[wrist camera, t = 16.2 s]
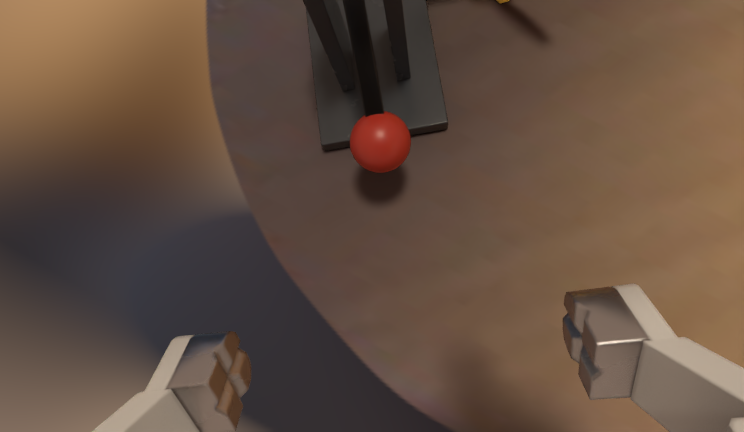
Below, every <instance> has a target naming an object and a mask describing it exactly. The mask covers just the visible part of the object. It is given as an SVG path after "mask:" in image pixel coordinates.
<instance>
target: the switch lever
mask: <svg viewBox="0 0 744 432" xmlns="http://www.w3.org/2000/svg"><path fill="white" fill-rule="evenodd" d="M343 5H344V10H345V15H346V20H347V25H348V30H349V36H350V41H351V46H352V51H353V56H354V61H355V66H356V72H357V77H358V82H359V87H360V92H361V97H362V102H363V108H364V113H365V115H364V116H363V117H362V118H360V119H359V120H358V121H357V123H356V124H355V125H354V127H353V129H352V132H351V136H350V148H351V152H352V154H353V156H354V158H355V160H356V161H357V162H358V163H359V164H360V165H361V166H362V167H363V168H365V169H367V170H369V171H372V172H377V173H384V172H389V171H392V170H394V169H396V168H397V167H399V166H400V165H401V164H402V163H403V162H404V161H405V159H406V158H407V156H408V154H409V151H410V146H411V137H410V133H409V130H408V128H407V126H406V124H405V123H404V122H403V121H402V119H400V118H399V117H398V116H396V115H395V114H393V113H390V112H387V111H384V105H383V99H382V94H381V88H380V83H379V77H378V71H377V66H376V60H375V54H374V49H373V43H372V37H371V32H370V26H369V21H368V15H367V9H366V4H365V0H343Z"/></svg>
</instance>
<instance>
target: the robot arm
mask: <svg viewBox="0 0 744 432" xmlns="http://www.w3.org/2000/svg"><path fill="white" fill-rule="evenodd" d="M564 306H565V308H566V310H567V312H568V313H567V314H566V315H565V316H564V318H563V334H564V340H565V343H566V347H567V349H568V352H569V354H570V356H571V358H572V359H573V360H575V361H576V362H578V363H579V373H578V374H579V377H580V379H581V381H582V383H583V385H584V388H585V390H586V392H587V394H588V396H589V399H590V400H594V399H611V398H627V397H631V400H632V401H633V402H634V403H636V404H637V405H638V406H639V407H640V408H642V409H643V410H644V411H645V412H646V413H648V414H649V415H650V416H651V417H653V418H654V419H655V420H656V421H657V422H659V423H660V424H661V425H662V426H663V427H665V428H666V429H667V430H668V431H669V432H744V368H743V367H741V366H739V365H737V364H735V363H733V362H731V361H730V360H728V359H726V358H724V357H722V356H720V355H718V354H716V353H715V352H713V351H711V350H709V349H707V348H705V347H703V346H701V345H700V344H698V343H696V342H694V341H692V340H690V339H688V338H687V337H677V336H676V334H675V333H674V332H673V330H672V329H671V328H670V326H669V325H668V324H667V322H666V321H665V320H664V318H663V317H662V316H661V314H660V313H659V311H658V310H657V309H656V307H655V306H654V305H653V303H652V302H651V301H650V299H649V298H648V297H647V295H646V294H645V293H644V291H643V290H642V289H641V287H640V286H638V285H637V284H627V285H619V286H612V287H603V288H595V289H587V290H579V291H571V292H566V295H565V298H564ZM239 343H240V339H239V338H238V336H237V334H236V332H232V331H229V332H217V333H206V334H195V335H188V336H177V337H176V338H174V339H173V340H172V341H171V343H170V344H169V347H168V348H167V350H166V352H165V354H164V356H163V358H162V360H161V361H160V363H159V365H158V367H157V369H156V371H155V373H154V375H153V376H152V378H151V380H150V382H149V384H148V386H147V388H146V390H145V391H144V392H138V393H137V394H136V395H135V396H134V397H133V398H131V399H130V400H129V401H128V402H127V403H125V404H124V405H123V406H122V407H121V408H119V409H118V410H117V411H116V412H115V413H113V414H112V415H111V416H110V417H109V418H107V419H106V420H105V421H104V422H103V423H102V424H100V425H99V426H98V427H97V428H96V429H94V430H93V431H92V432H230V431H236V428H237V424H238V421H239V418H240V414H241V411H242V408H243V405H242V402H241V400H240V397H241V396H242V395H243V394H244V393H245V392H246V391H247V390H248V388H249V384H250V381H251V364H250V360H249V357H248V355H247V353H246V352H244V351H243V350H241V349H240V348H238V346H239Z"/></svg>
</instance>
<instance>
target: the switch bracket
mask: <svg viewBox="0 0 744 432" xmlns="http://www.w3.org/2000/svg"><path fill="white" fill-rule="evenodd" d="M303 2H304V4H305V6H306V13H307V22H308V31H309V40H310V49H311V58H312V67H313V76H314V85H315V94H316V103H317V112H318V121H319V130H320V139H321V145H322V147H323V148H324V150H325V151H328V150H333V149H339V148H344V147H350V136H351V132H352V129H353V127H354V125H355V124H356V123H357V121H358V120H359V119H360V118H362V117H363V116H364V115H365V113H364V108H363V102H362V97H361V92H360V87H359V82H358V77H357V72H356V66H355V61H354V56H353V51H352V46H351V41H350V36H349V30H348V25H347V20H346V15H345V10H344V5H343V0H303ZM365 4H366V9H367V15H368V21H369V26H370V32H371V37H372V43H373V49H374V54H375V60H376V66H377V71H378V77H379V83H380V88H381V94H382V99H383V105H384V111H387V112H390V113H393V114H395V115H396V116H398V117H399V118H400V119H402V121H403V122H404V123H405V124H406V126H407V128H408V130H409V133H410V136H411V135H416V134H422V133H428V132H433V131H439V130H444V129H448V119H447V113H446V108H445V102H444V97H443V91H442V86H441V81H440V75H439V70H438V64H437V59H436V53H435V48H434V42H433V37H432V31H431V26H430V21H429V15H428V10H427V4H426V0H365Z"/></svg>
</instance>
